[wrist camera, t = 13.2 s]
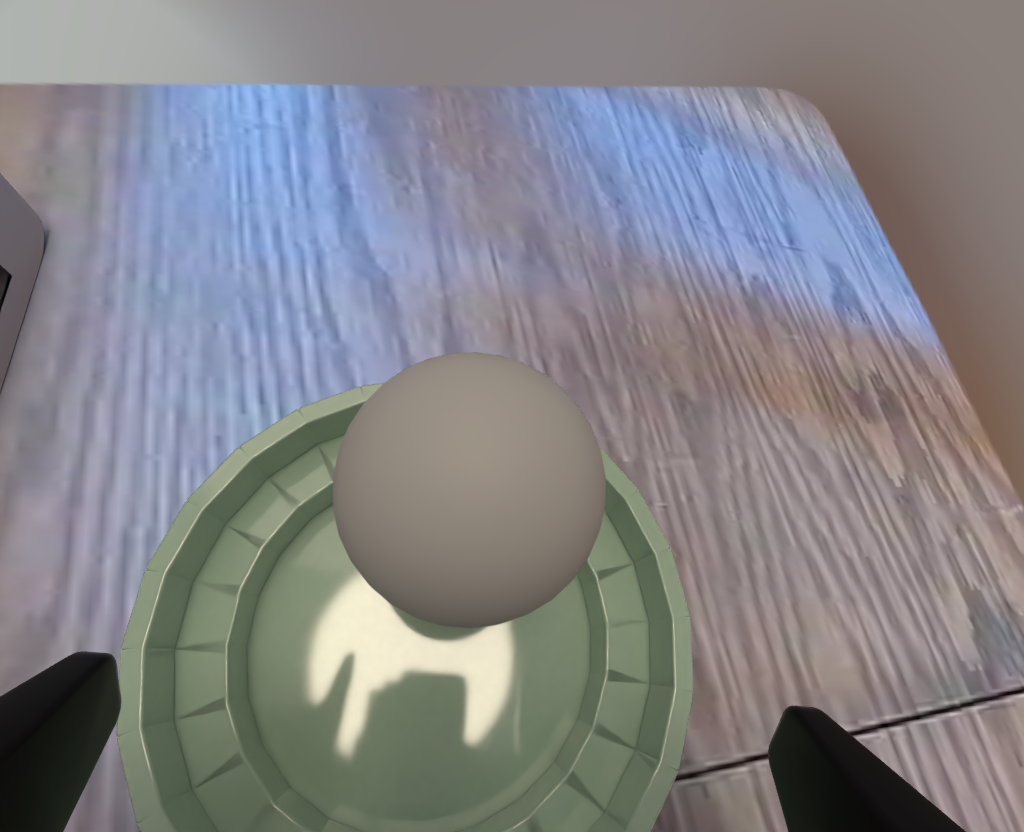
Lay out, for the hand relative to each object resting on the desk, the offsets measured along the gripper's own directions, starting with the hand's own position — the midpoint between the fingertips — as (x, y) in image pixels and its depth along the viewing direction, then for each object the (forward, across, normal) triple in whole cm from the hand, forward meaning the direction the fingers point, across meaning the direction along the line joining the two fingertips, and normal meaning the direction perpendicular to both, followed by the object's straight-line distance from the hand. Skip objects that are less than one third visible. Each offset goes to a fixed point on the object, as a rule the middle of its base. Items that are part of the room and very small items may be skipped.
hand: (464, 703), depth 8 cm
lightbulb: (+12, 0, +6) cm, 13 cm away
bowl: (+10, +1, +8) cm, 13 cm away
